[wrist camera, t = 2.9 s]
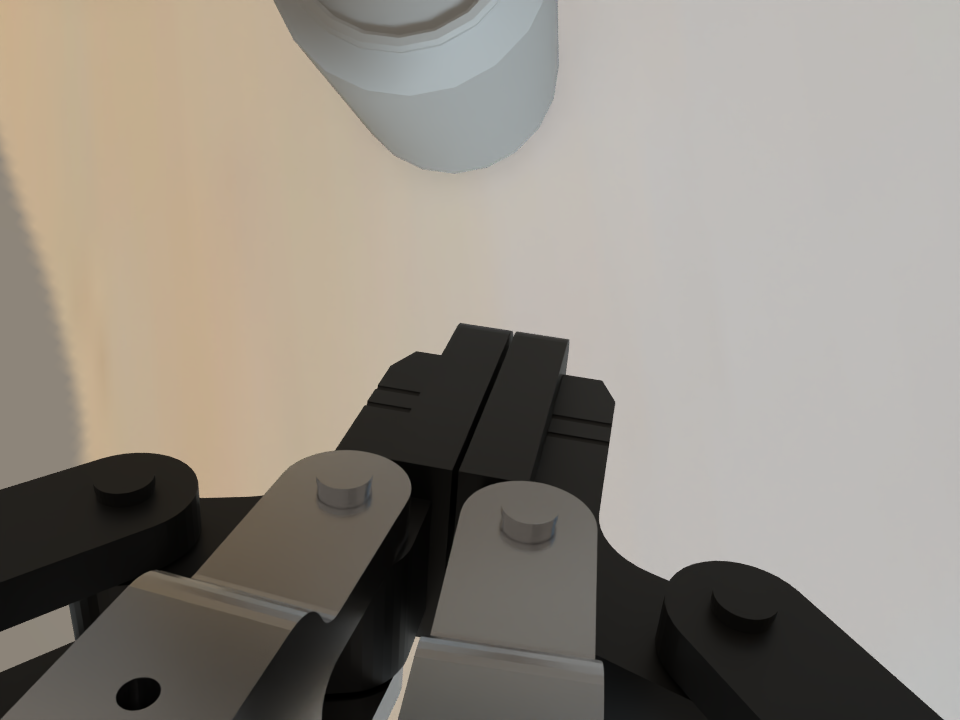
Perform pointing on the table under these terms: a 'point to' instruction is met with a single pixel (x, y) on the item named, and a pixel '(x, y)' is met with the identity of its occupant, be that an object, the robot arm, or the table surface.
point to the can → (436, 71)
